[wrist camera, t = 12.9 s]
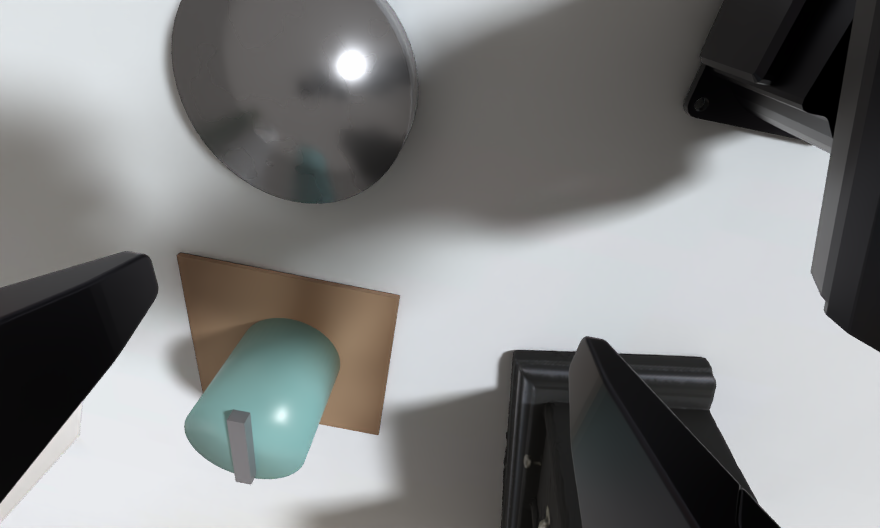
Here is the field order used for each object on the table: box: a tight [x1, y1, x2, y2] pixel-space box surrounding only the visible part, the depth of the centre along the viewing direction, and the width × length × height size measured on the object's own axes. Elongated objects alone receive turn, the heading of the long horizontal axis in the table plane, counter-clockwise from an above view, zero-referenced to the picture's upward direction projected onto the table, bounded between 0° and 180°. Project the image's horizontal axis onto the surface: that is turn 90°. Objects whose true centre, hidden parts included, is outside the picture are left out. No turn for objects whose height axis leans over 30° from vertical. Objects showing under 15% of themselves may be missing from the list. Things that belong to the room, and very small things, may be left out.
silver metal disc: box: [172, 0, 418, 204], centre depth 17 cm, size 9×9×2 cm
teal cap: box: [184, 318, 340, 484], centre depth 24 cm, size 6×6×7 cm
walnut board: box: [177, 253, 400, 435], centre depth 27 cm, size 12×12×1 cm
